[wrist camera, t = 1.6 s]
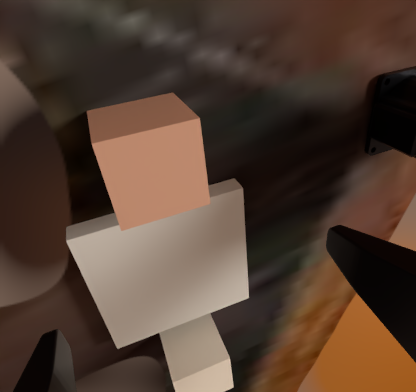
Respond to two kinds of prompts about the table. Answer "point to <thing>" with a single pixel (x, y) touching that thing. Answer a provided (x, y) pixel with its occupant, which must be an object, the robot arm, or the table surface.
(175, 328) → the cream block
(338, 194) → the table surface
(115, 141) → the terracotta block
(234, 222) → the baseplate
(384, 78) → the robot arm
